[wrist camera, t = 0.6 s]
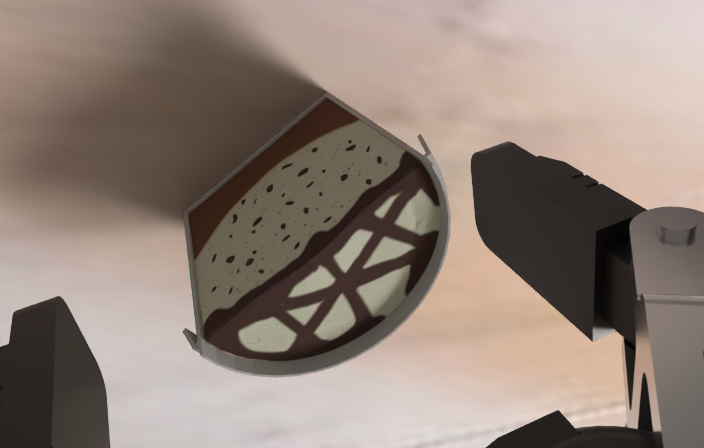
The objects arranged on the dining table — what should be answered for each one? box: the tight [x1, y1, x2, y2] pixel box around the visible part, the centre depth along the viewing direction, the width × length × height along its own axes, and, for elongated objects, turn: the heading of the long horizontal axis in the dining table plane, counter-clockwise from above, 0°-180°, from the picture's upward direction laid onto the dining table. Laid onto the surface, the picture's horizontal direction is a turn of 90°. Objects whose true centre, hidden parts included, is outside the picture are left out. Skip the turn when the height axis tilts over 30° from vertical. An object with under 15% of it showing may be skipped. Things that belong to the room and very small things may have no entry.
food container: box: [183, 92, 450, 377], centre depth 30 cm, size 12×6×10 cm, turn 124°
